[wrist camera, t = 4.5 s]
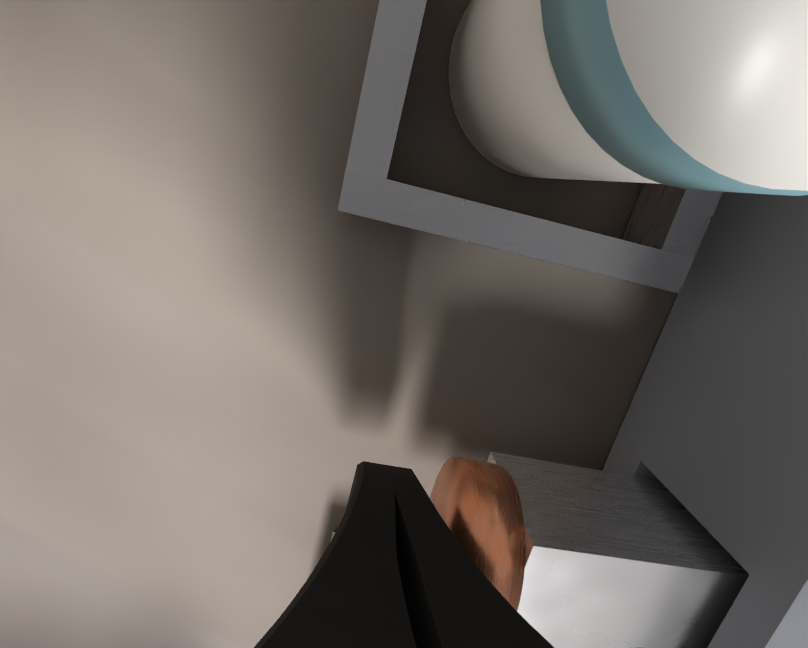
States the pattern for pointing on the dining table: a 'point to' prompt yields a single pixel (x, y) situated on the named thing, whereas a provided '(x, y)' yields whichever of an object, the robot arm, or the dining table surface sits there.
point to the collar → (492, 226)
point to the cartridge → (638, 91)
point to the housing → (737, 410)
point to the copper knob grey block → (589, 552)
